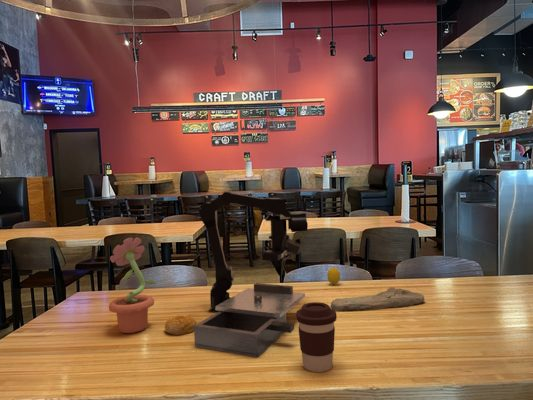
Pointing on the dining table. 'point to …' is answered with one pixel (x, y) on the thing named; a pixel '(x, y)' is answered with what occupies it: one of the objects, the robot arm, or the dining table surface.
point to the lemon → (333, 275)
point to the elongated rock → (379, 300)
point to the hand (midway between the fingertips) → (280, 275)
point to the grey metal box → (240, 332)
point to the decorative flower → (133, 305)
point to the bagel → (180, 325)
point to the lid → (263, 300)
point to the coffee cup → (316, 335)
